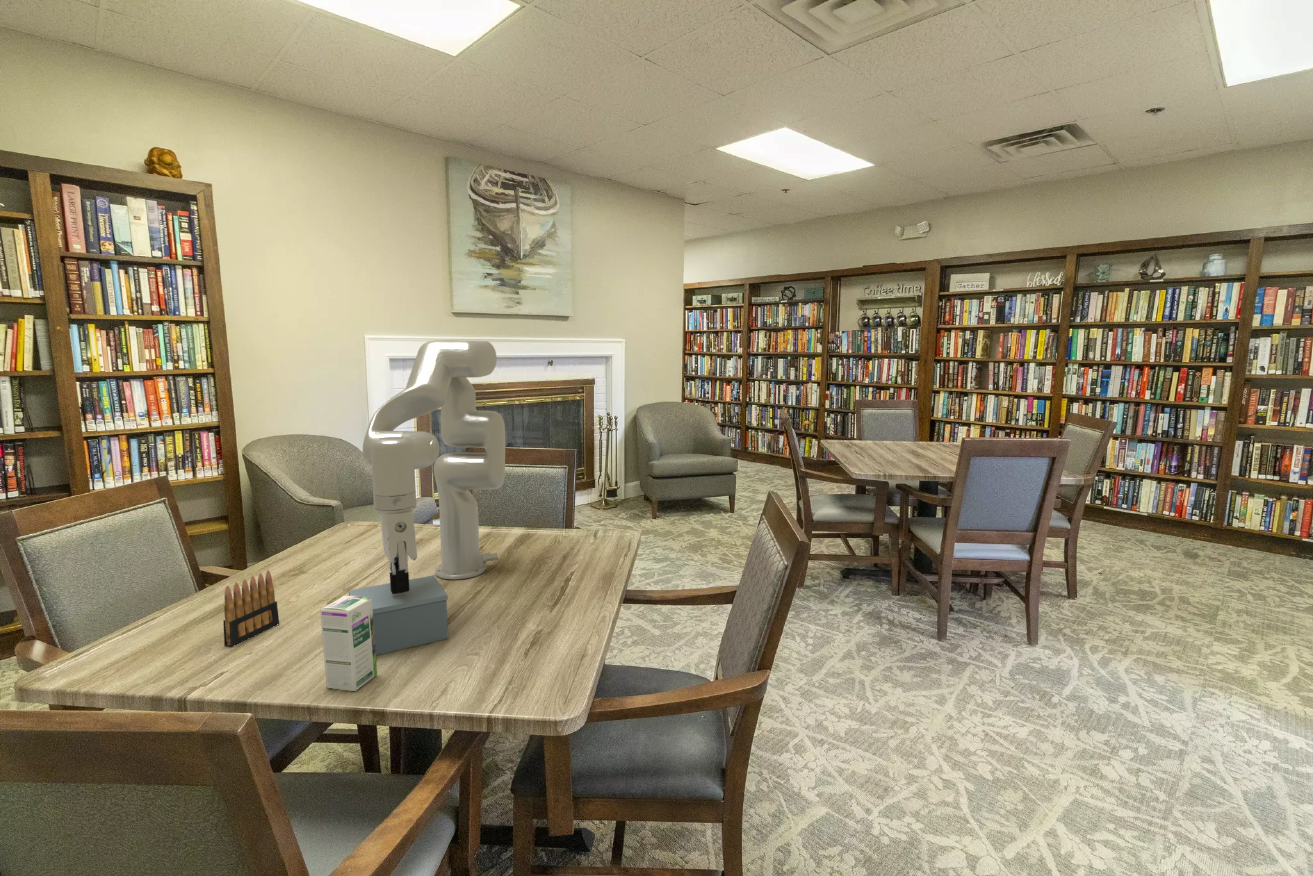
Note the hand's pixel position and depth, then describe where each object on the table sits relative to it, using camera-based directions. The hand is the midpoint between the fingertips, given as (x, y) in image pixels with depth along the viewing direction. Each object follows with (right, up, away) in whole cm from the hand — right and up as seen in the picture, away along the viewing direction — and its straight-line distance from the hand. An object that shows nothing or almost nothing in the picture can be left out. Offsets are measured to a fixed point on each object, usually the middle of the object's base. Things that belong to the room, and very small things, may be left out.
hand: (400, 591), depth 117 cm
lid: (-1, -2, +1) cm, 2 cm away
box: (-1, -10, +3) cm, 10 cm away
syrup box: (-2, -12, -14) cm, 19 cm away
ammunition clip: (-31, -10, +3) cm, 32 cm away
